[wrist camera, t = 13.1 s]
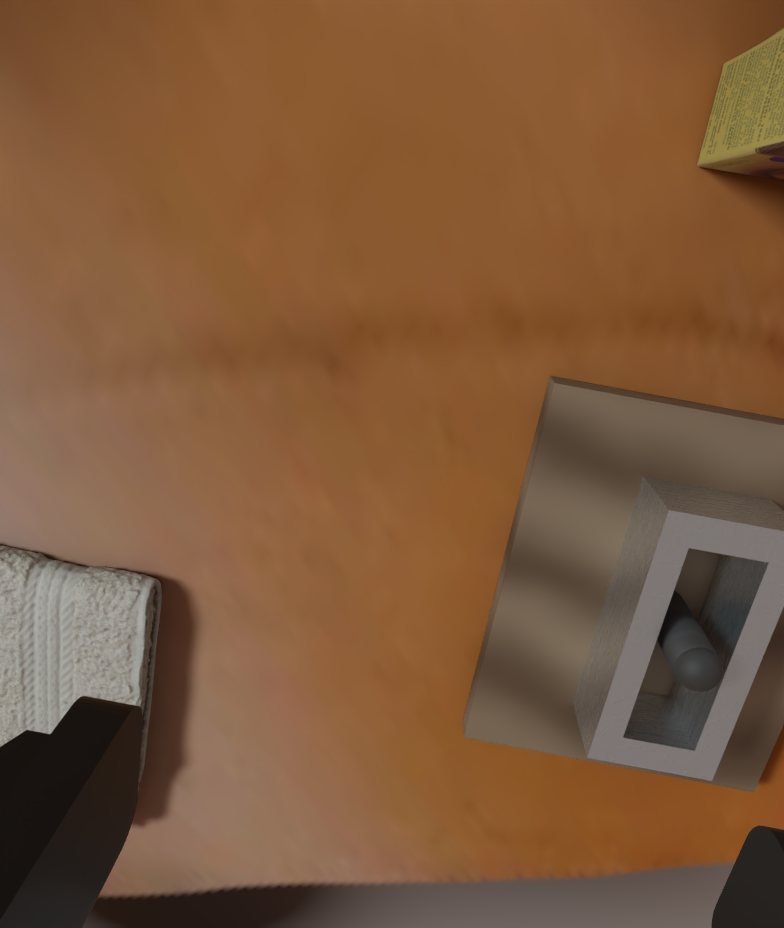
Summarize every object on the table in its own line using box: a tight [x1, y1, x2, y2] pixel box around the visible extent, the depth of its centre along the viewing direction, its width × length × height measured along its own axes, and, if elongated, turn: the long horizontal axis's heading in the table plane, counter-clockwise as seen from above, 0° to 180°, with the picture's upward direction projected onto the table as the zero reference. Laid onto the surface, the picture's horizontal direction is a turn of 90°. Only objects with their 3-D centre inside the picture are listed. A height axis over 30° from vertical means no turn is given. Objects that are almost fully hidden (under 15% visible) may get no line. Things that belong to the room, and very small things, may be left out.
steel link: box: [573, 476, 784, 781], centre depth 34 cm, size 13×6×4 cm, turn 170°
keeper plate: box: [463, 376, 784, 792], centre depth 33 cm, size 20×16×8 cm
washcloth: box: [0, 546, 162, 791], centre depth 41 cm, size 12×18×3 cm, turn 169°
